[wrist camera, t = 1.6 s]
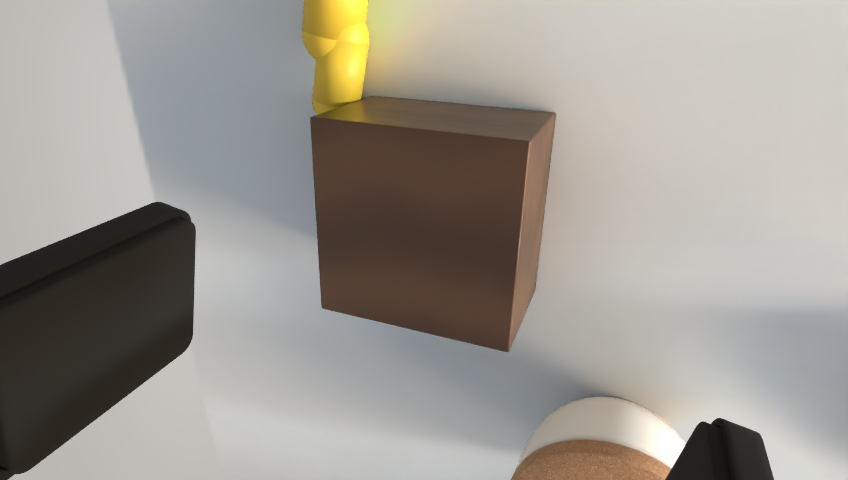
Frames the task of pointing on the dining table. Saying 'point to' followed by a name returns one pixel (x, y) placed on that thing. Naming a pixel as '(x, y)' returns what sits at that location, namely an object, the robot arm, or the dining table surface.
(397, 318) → the block
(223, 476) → the dining table surface
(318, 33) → the banana
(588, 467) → the trinket box
